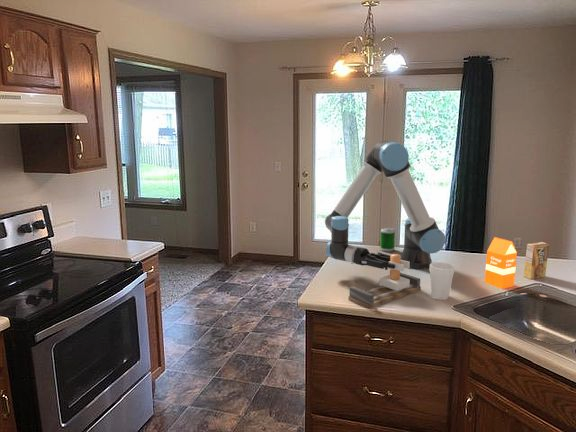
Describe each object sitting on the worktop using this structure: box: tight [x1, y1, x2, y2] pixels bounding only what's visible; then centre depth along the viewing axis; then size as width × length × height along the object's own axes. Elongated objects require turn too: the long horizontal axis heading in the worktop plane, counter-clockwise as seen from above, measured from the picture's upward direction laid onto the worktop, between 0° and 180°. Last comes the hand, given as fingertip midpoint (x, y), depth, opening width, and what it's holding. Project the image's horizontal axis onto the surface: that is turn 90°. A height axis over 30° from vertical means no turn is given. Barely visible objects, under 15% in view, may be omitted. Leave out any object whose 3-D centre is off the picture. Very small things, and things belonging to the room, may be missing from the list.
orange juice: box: [484, 236, 518, 290], centre depth 196 cm, size 8×9×20 cm
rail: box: [348, 271, 422, 309], centre depth 187 cm, size 31×11×5 cm, turn 127°
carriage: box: [379, 253, 410, 291], centre depth 189 cm, size 8×9×13 cm
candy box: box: [523, 241, 550, 280], centre depth 205 cm, size 9×4×15 cm, turn 110°
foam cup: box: [428, 261, 456, 301], centre depth 184 cm, size 10×9×13 cm
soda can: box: [379, 226, 396, 253], centre depth 250 cm, size 8×8×12 cm
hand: (406, 266), depth 185 cm, fingers closed on carriage, 4 cm apart
